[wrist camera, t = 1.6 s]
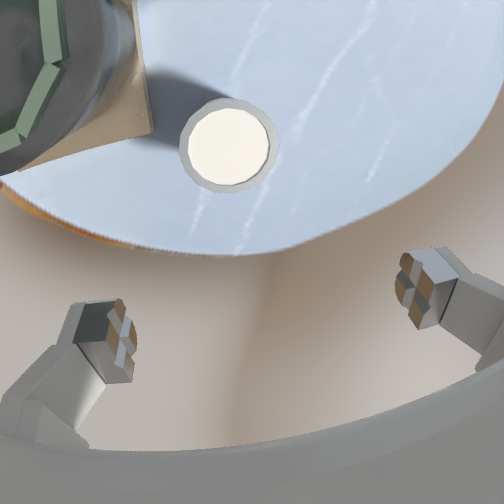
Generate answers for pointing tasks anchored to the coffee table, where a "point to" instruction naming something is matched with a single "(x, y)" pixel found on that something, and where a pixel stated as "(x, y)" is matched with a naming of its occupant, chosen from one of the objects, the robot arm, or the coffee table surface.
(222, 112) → the white cylinder
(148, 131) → the green-rimmed dark canister
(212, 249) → the coffee table surface
